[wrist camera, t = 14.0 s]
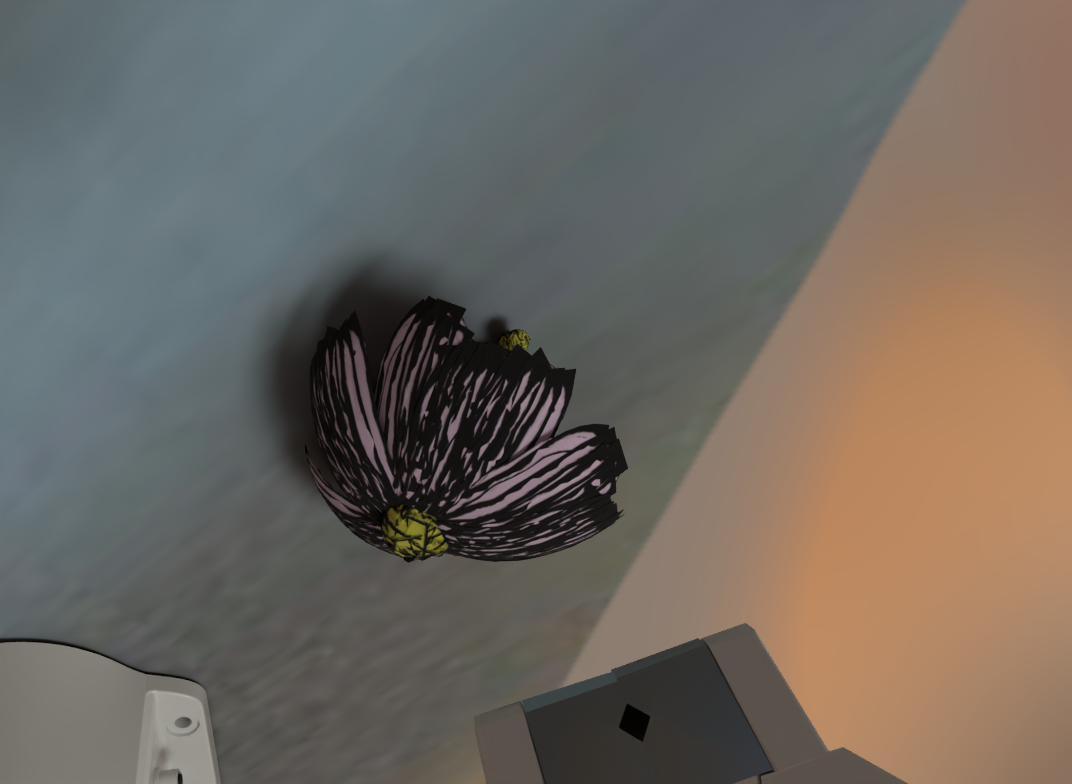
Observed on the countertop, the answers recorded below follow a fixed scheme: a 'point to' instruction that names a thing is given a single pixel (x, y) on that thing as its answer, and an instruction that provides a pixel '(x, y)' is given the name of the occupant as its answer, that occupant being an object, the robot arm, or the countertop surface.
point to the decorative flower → (457, 443)
